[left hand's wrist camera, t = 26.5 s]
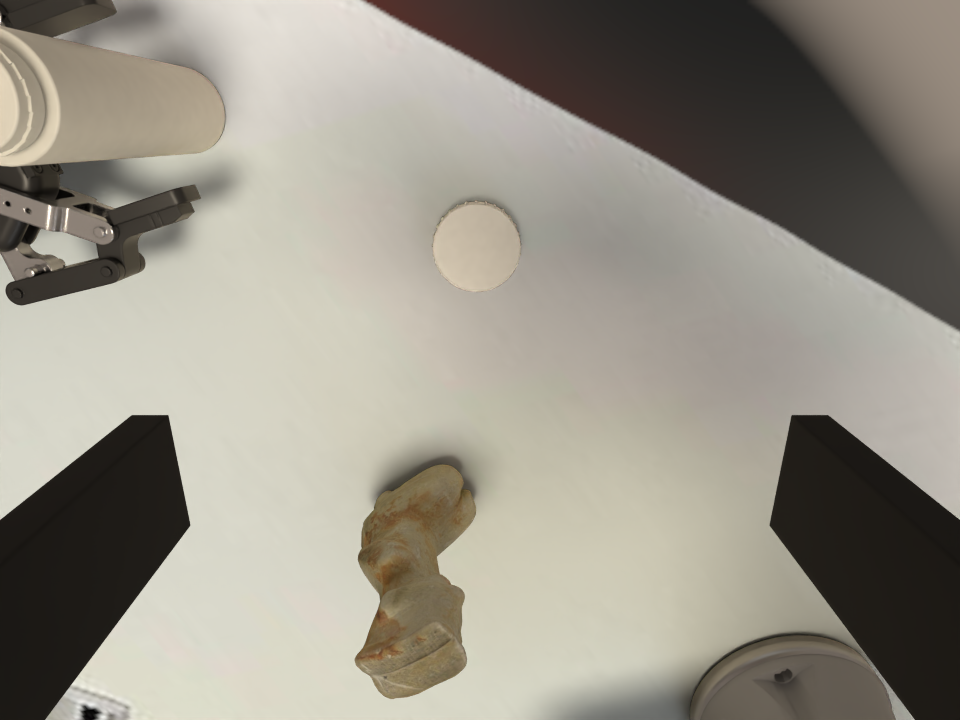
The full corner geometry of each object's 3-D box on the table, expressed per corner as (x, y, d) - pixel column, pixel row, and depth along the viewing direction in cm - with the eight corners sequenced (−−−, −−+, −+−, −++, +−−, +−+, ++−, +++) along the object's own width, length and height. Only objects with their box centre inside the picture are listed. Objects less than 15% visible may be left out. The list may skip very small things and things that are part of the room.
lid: (424, 275, 37) (422, 281, 35) (444, 189, 35) (443, 192, 33) (506, 296, 37) (507, 302, 36) (530, 212, 35) (532, 216, 34)
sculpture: (486, 510, 43) (490, 695, 29) (396, 544, 44) (357, 740, 30) (451, 444, 41) (437, 608, 27) (358, 482, 42) (297, 658, 28)
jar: (240, 103, 33) (55, 80, 19) (201, 170, 34) (0, 197, 20) (167, 47, 32) (-88, -22, 18) (129, 118, 33) (-137, 107, 19)
